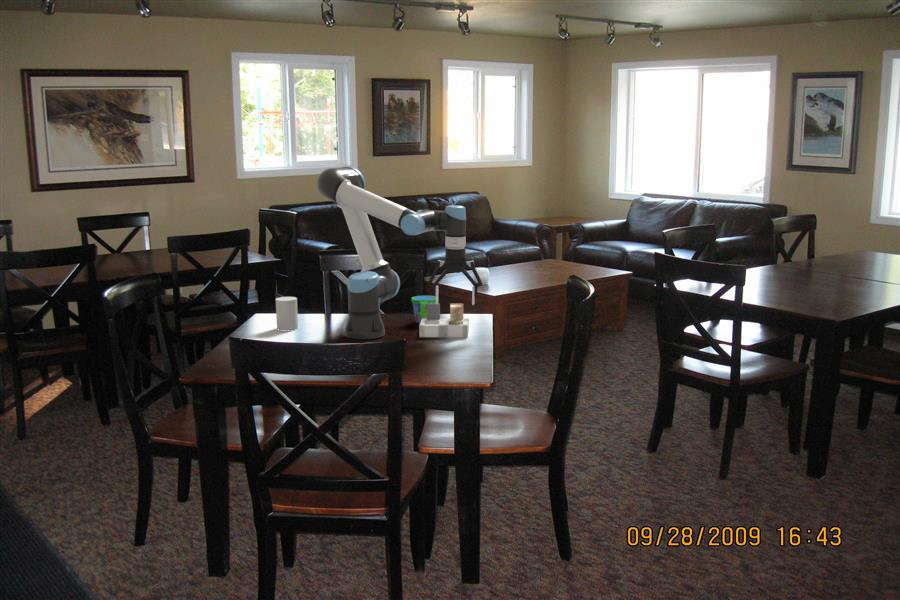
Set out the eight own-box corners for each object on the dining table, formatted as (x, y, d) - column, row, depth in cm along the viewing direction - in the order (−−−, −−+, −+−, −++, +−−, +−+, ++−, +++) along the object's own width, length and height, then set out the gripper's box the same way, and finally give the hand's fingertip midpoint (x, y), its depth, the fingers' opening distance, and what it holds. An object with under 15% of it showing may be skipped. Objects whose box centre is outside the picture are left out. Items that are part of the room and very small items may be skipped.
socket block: (419, 337, 314) (419, 309, 312) (422, 329, 326) (421, 303, 324) (467, 337, 313) (467, 309, 311) (468, 329, 325) (468, 303, 323)
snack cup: (416, 317, 347) (415, 293, 345) (441, 318, 346) (440, 294, 344) (408, 326, 332) (407, 301, 330) (434, 327, 330) (434, 301, 328)
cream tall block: (450, 335, 316) (450, 307, 314) (450, 333, 320) (450, 305, 318) (461, 335, 316) (461, 307, 314) (461, 333, 320) (461, 304, 318)
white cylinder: (286, 325, 335) (285, 296, 333) (302, 327, 331) (301, 297, 329) (272, 329, 328) (271, 299, 326) (288, 332, 324) (287, 301, 322)
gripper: (421, 248, 309) (421, 305, 313) (489, 249, 307) (488, 306, 312) (422, 245, 316) (422, 301, 320) (489, 246, 315) (488, 302, 319)
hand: (455, 303), depth 316 cm, fingers open, 13 cm apart
